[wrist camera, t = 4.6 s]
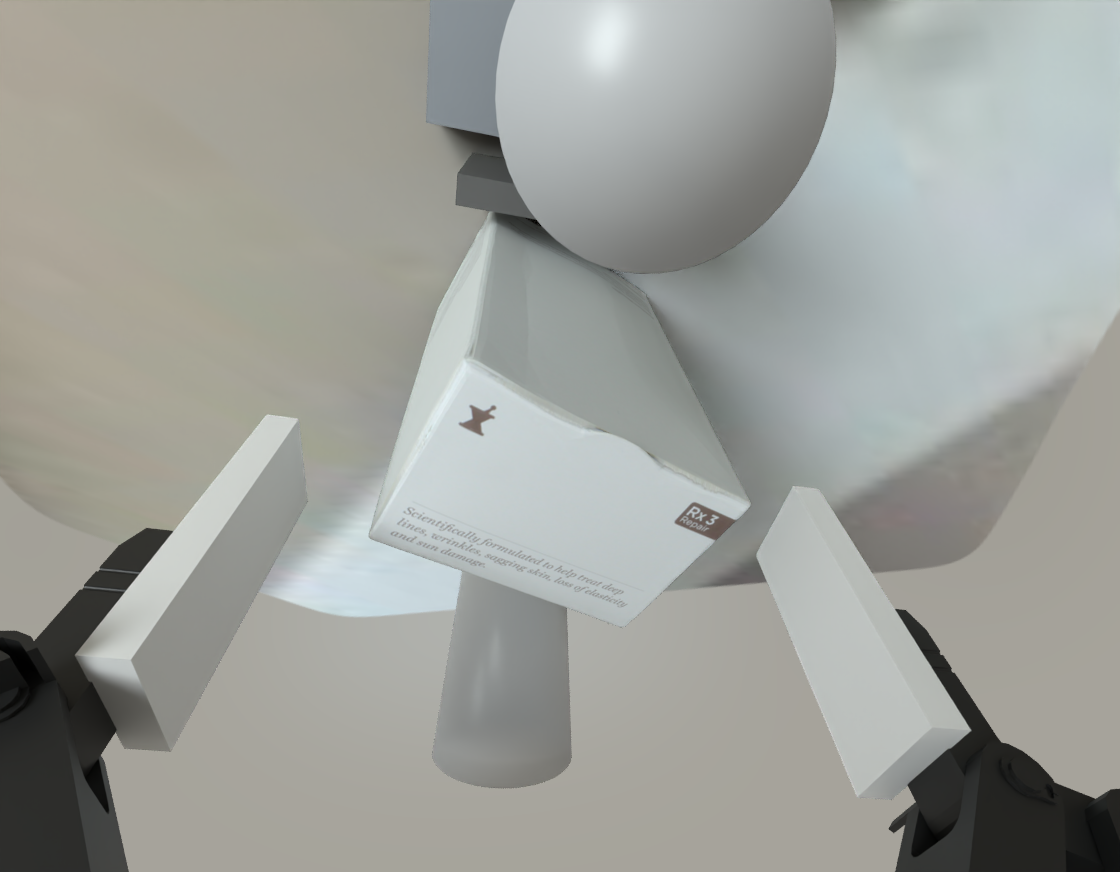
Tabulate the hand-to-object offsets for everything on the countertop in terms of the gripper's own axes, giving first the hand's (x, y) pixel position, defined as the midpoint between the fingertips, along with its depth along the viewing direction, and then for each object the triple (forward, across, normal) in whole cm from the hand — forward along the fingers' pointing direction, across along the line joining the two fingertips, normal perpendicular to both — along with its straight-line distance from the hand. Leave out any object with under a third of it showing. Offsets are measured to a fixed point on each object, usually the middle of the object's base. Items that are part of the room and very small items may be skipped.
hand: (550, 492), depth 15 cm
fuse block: (+13, 0, 0) cm, 13 cm away
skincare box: (+13, 0, 0) cm, 13 cm away
